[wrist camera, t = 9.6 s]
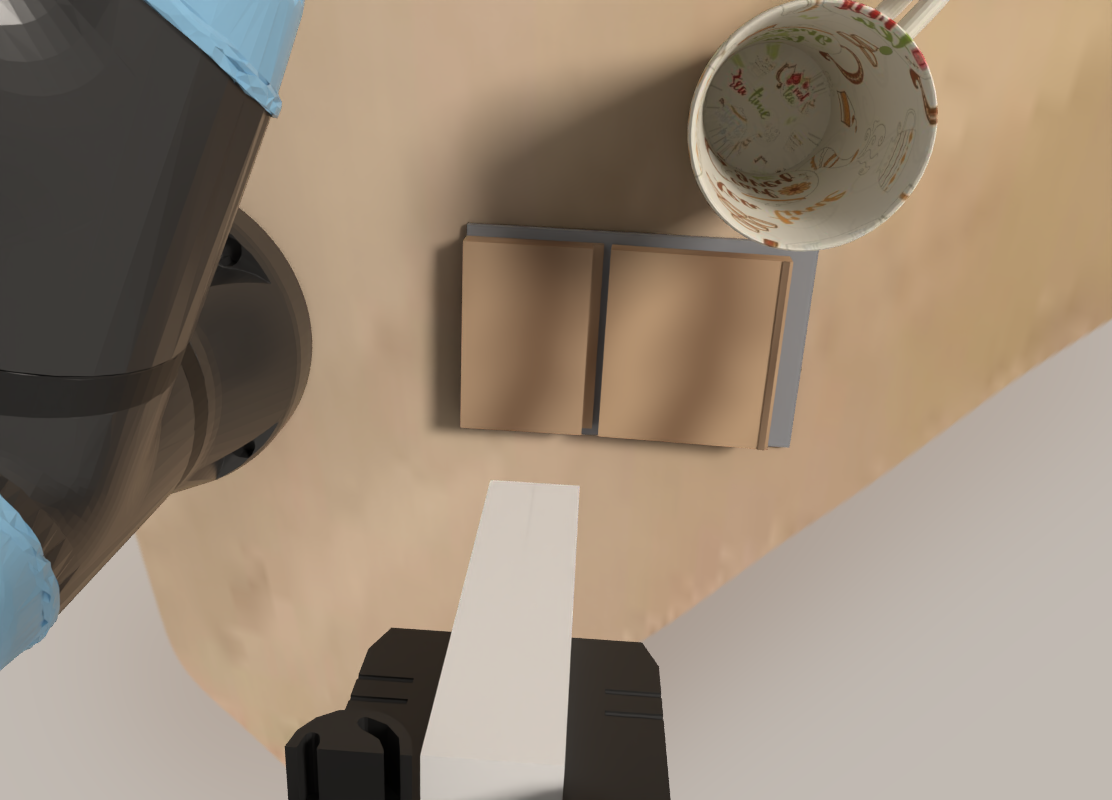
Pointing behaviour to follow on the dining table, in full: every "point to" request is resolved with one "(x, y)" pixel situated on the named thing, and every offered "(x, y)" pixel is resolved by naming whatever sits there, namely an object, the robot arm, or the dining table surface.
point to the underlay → (801, 260)
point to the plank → (692, 345)
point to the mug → (815, 121)
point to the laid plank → (529, 334)
